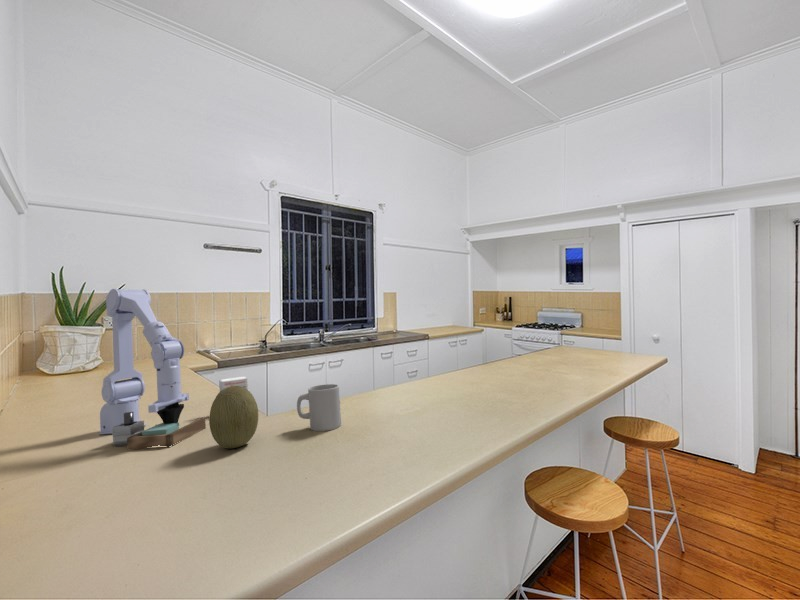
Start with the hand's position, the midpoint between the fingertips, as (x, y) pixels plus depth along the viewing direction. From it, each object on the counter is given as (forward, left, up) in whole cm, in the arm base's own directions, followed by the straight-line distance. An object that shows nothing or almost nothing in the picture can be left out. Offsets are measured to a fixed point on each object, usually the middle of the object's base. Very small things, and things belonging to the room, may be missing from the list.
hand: (171, 431), depth 104 cm
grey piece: (-11, -2, -1) cm, 11 cm away
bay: (0, -1, -1) cm, 2 cm away
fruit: (+24, -11, -2) cm, 27 cm away
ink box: (+6, +25, -2) cm, 25 cm away
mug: (+42, +1, -2) cm, 42 cm away
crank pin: (-11, -2, +1) cm, 11 cm away
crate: (0, -4, -1) cm, 5 cm away
